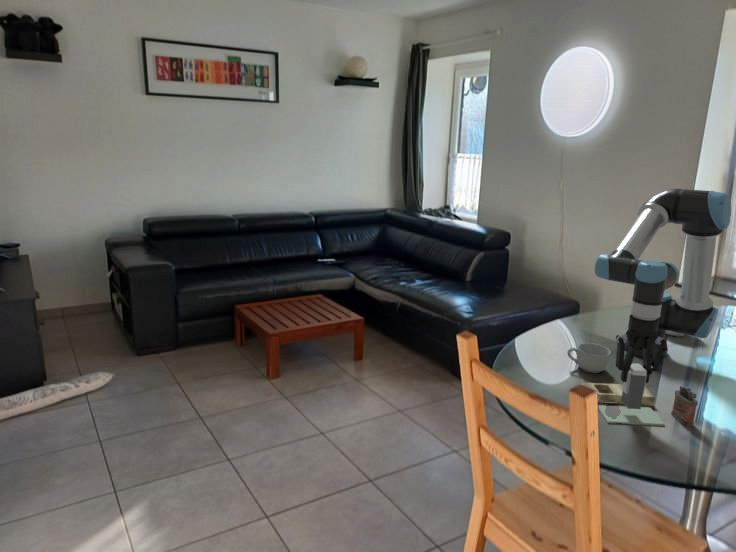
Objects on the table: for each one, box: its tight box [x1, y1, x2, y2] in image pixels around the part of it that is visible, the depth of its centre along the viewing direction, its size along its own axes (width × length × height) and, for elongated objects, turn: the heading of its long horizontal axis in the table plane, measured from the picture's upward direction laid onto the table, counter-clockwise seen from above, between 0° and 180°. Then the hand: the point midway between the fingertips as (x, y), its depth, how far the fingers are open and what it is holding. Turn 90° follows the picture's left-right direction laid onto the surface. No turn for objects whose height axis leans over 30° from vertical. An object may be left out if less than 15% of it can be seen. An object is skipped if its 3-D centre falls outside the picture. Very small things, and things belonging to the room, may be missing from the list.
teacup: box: [567, 342, 611, 374], centre depth 193 cm, size 14×11×8 cm
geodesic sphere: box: [665, 330, 686, 338], centre depth 227 cm, size 15×14×14 cm
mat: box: [598, 404, 666, 427], centre depth 162 cm, size 16×10×1 cm, turn 86°
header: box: [579, 382, 656, 407], centre depth 173 cm, size 20×8×3 cm, turn 86°
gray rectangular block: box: [621, 362, 647, 409], centre depth 160 cm, size 4×5×12 cm
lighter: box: [670, 384, 699, 428], centre depth 159 cm, size 8×3×10 cm, turn 5°
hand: (632, 391), depth 160 cm, fingers closed on gray rectangular block, 4 cm apart
